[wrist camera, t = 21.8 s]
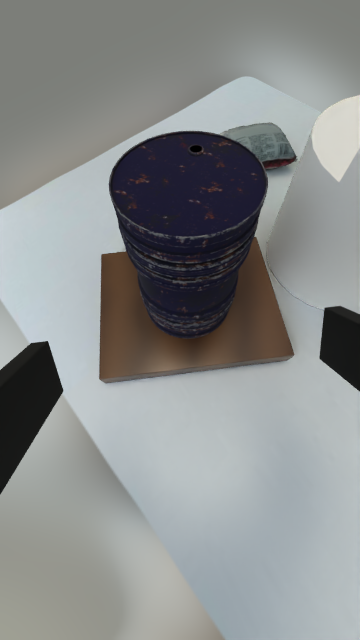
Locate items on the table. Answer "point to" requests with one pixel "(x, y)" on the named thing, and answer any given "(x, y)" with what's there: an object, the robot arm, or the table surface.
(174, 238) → the navy ribbed canister
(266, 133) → the packaged food
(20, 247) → the table surface
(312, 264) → the cylinder
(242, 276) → the board
